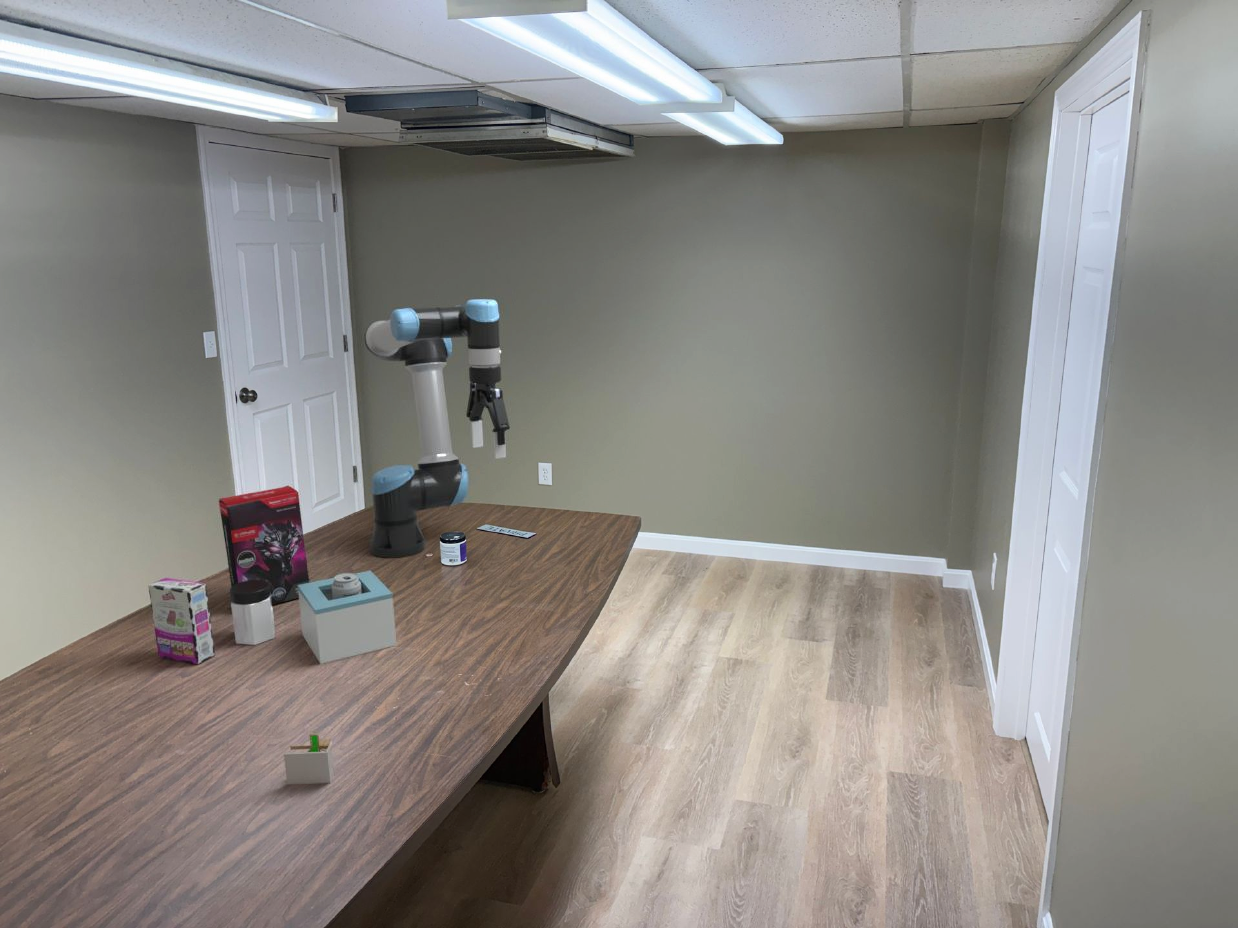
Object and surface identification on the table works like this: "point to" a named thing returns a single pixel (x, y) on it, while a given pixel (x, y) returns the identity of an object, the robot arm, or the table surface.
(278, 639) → the table surface
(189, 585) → the candy bar box
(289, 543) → the graphics card box
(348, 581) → the energy drink can
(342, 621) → the recycling box
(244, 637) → the jar
